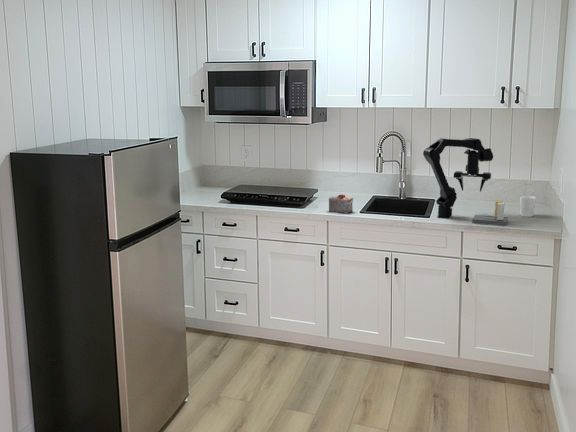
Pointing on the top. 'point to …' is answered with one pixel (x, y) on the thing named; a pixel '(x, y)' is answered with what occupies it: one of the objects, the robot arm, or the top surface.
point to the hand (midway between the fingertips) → (471, 191)
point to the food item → (340, 203)
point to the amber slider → (496, 206)
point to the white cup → (527, 205)
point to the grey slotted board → (489, 220)
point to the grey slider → (500, 211)
